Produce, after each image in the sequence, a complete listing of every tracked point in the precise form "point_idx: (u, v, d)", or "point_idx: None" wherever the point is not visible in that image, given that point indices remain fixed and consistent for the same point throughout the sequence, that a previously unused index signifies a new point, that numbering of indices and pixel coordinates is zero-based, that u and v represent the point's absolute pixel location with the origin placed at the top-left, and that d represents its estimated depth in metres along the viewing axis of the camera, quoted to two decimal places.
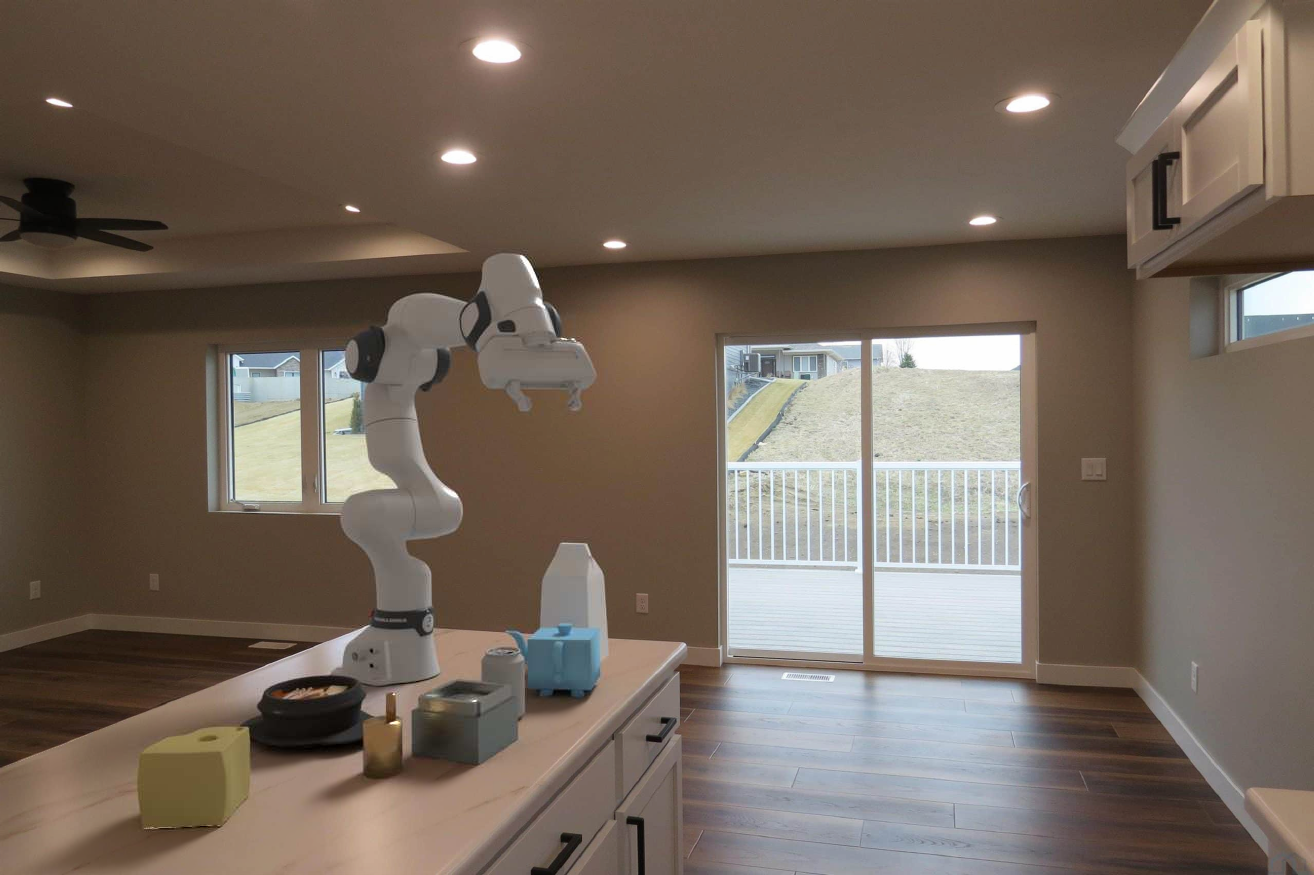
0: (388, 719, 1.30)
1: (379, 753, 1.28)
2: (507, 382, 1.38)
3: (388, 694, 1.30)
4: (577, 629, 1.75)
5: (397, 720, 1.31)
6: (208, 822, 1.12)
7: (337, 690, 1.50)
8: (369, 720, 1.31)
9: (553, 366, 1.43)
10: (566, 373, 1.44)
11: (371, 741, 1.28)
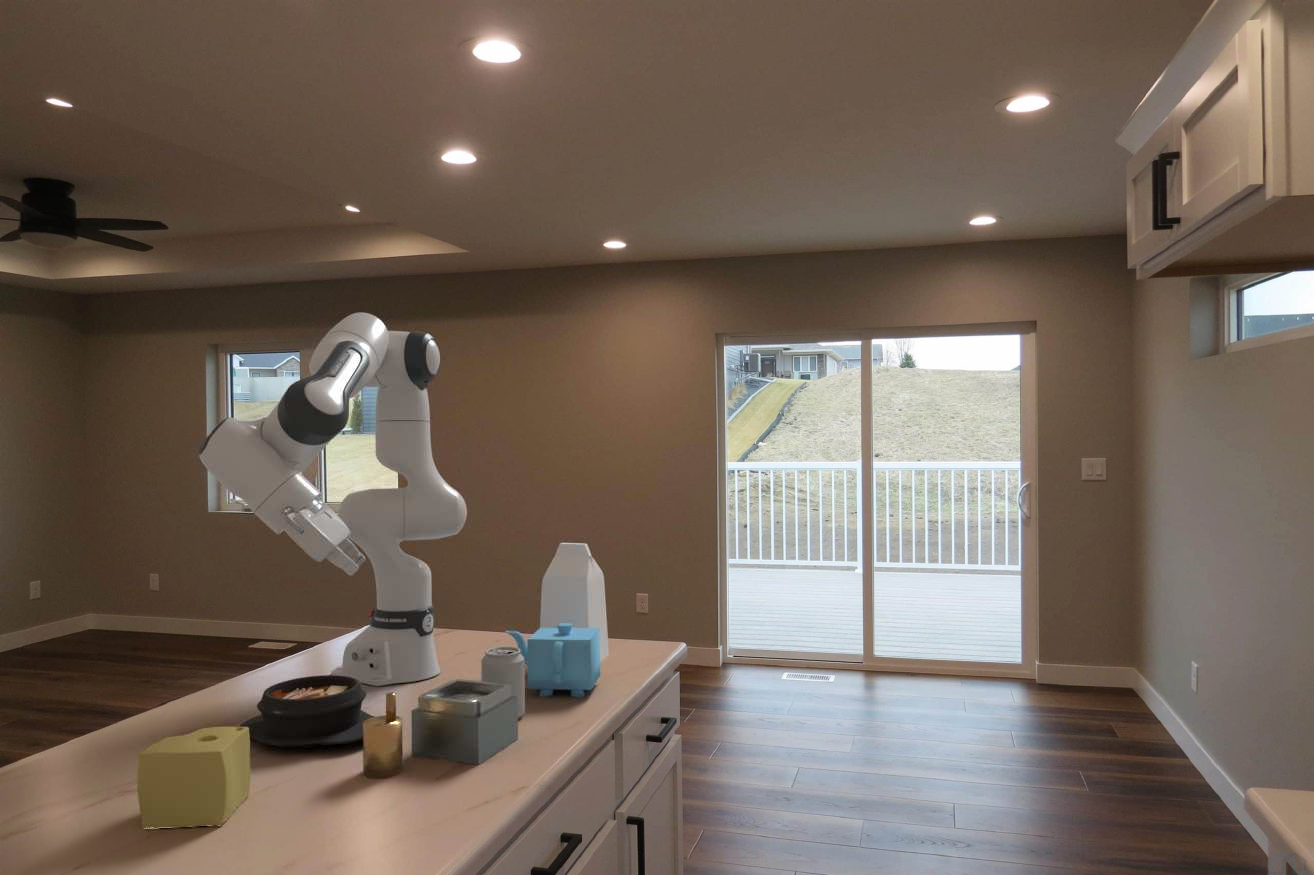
0: (388, 719, 1.30)
1: (379, 753, 1.28)
2: None
3: (388, 694, 1.30)
4: (577, 629, 1.75)
5: (397, 720, 1.31)
6: (208, 822, 1.12)
7: (337, 690, 1.50)
8: (369, 720, 1.31)
9: None
10: None
11: (371, 740, 1.28)
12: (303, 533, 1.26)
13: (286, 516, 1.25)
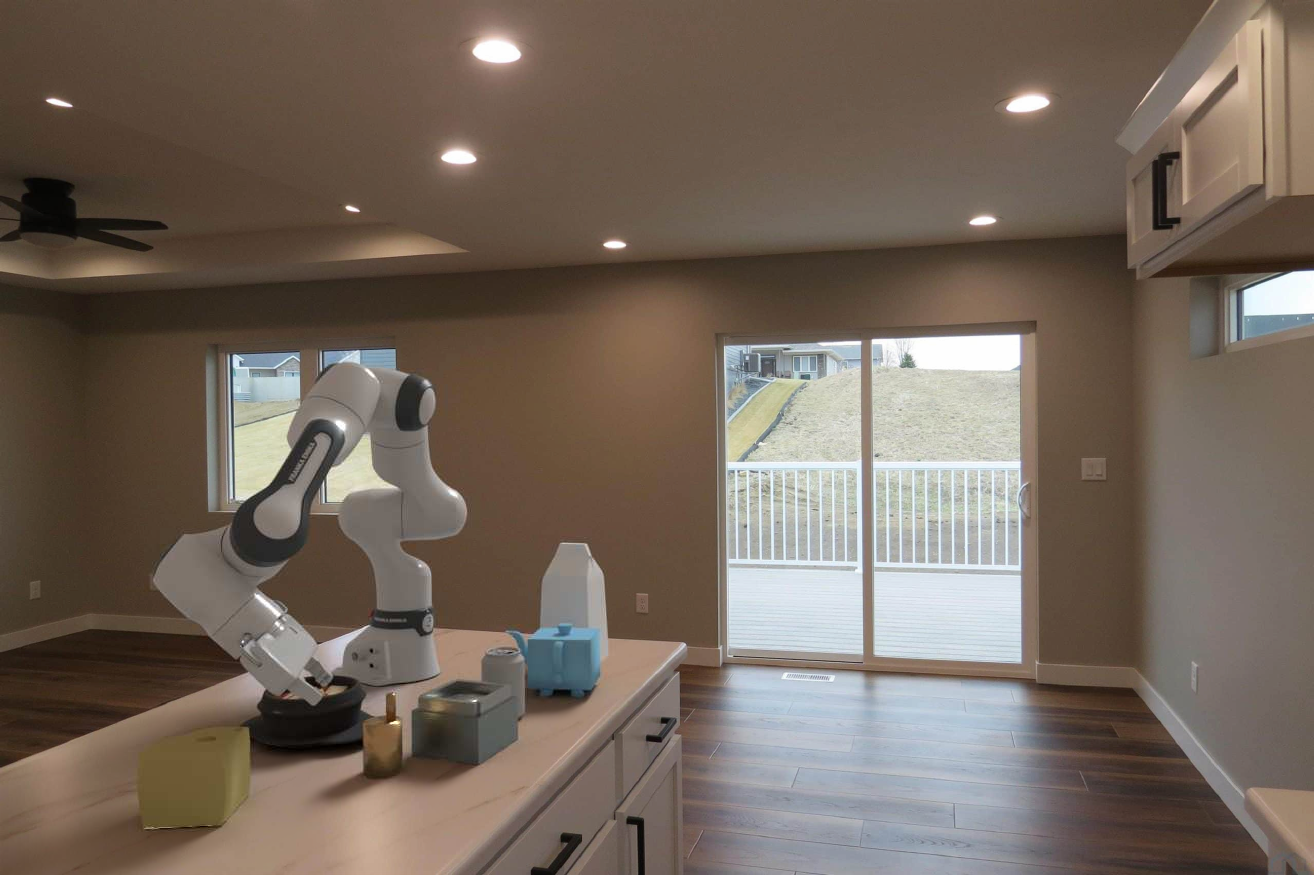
0: (388, 719, 1.30)
1: (379, 753, 1.28)
2: None
3: (388, 694, 1.30)
4: (577, 629, 1.75)
5: (397, 720, 1.31)
6: (208, 822, 1.12)
7: (337, 690, 1.50)
8: (369, 720, 1.31)
9: None
10: None
11: (371, 740, 1.28)
12: (261, 666, 1.18)
13: (242, 649, 1.17)
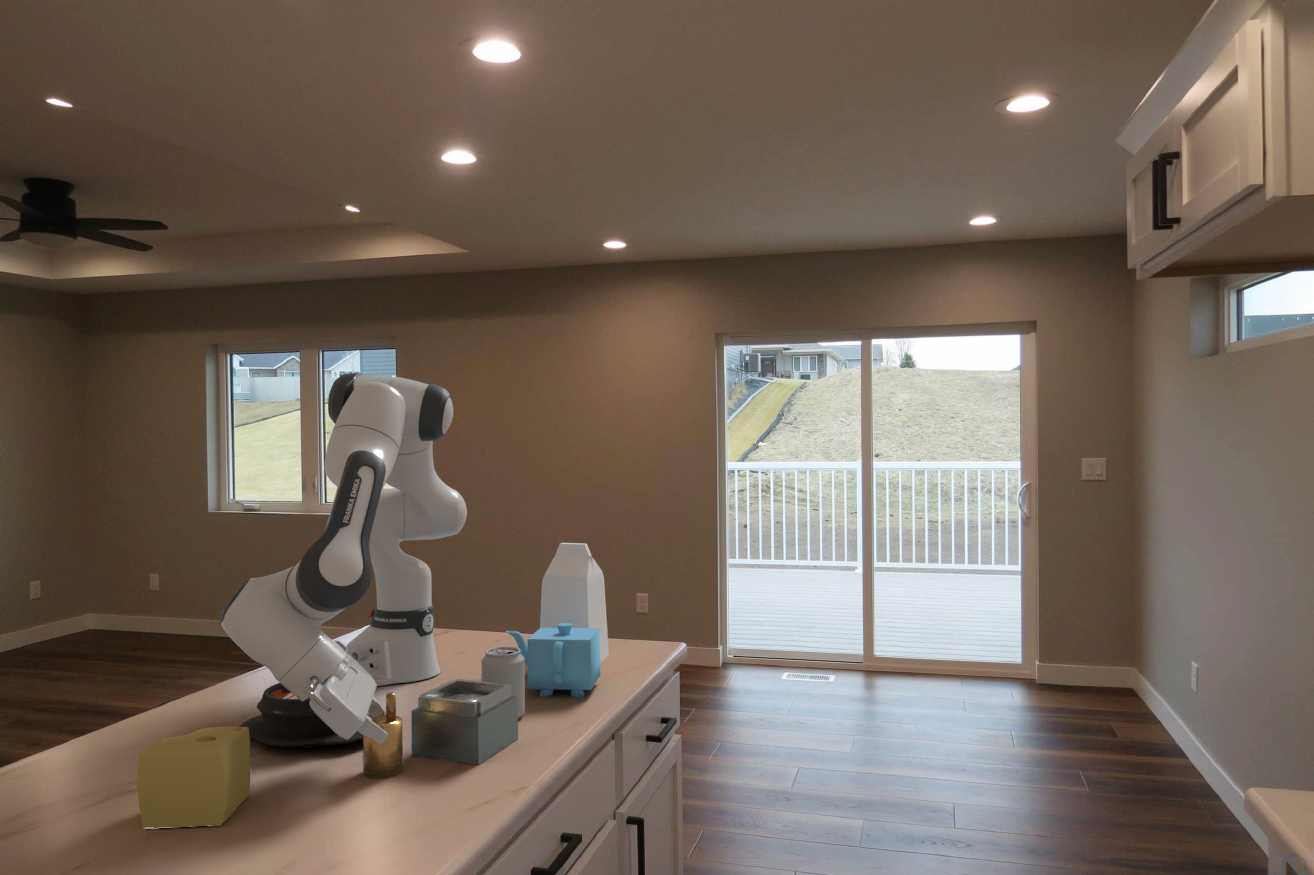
0: (388, 718, 1.30)
1: (379, 753, 1.28)
2: None
3: (388, 694, 1.30)
4: (577, 629, 1.75)
5: (397, 720, 1.31)
6: (208, 822, 1.12)
7: None
8: None
9: None
10: None
11: (371, 740, 1.28)
12: (330, 711, 1.20)
13: (313, 694, 1.19)
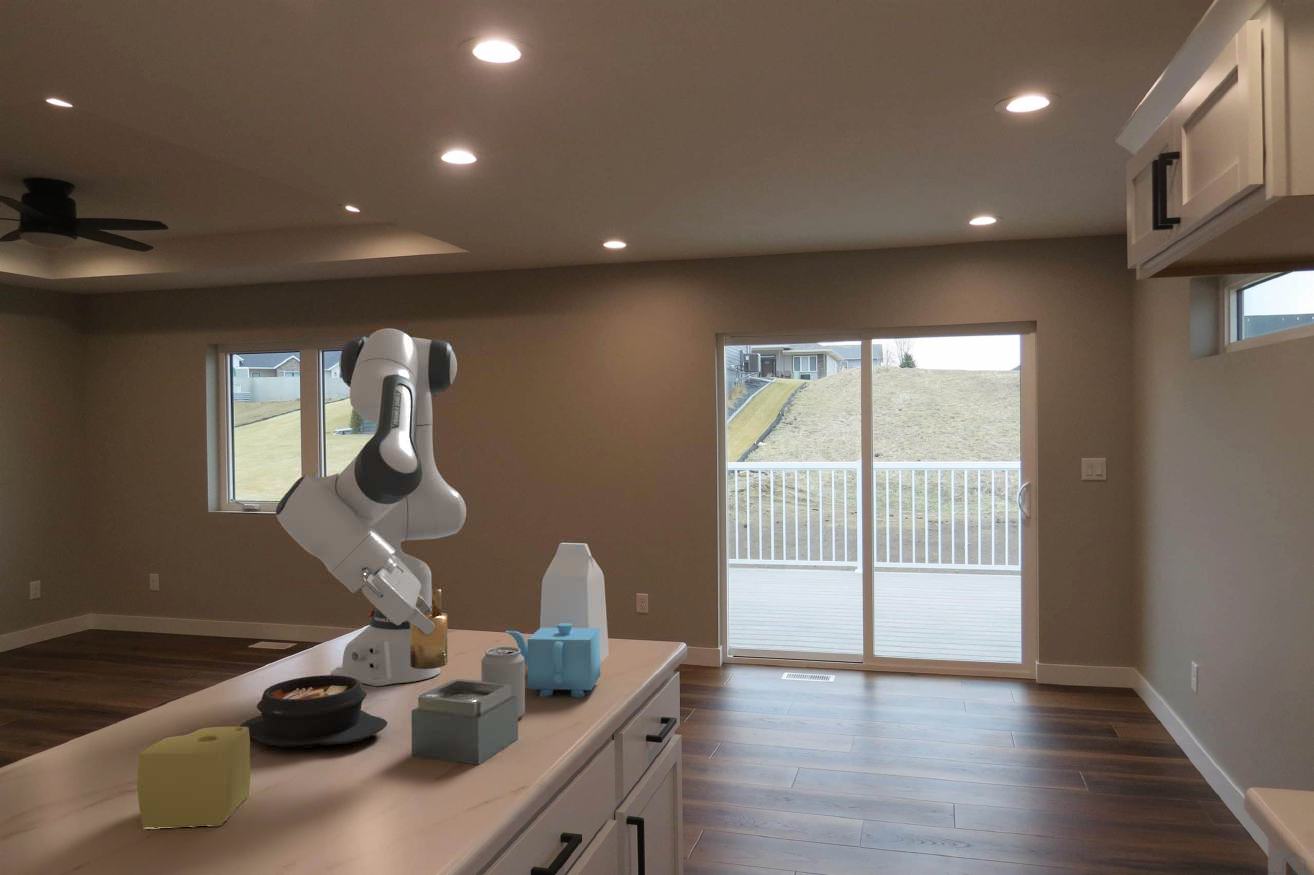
0: (434, 613, 1.36)
1: (426, 644, 1.34)
2: None
3: (434, 590, 1.36)
4: (577, 629, 1.75)
5: (442, 615, 1.37)
6: (208, 822, 1.12)
7: (337, 690, 1.50)
8: None
9: None
10: None
11: (419, 632, 1.34)
12: (383, 597, 1.26)
13: (366, 580, 1.25)
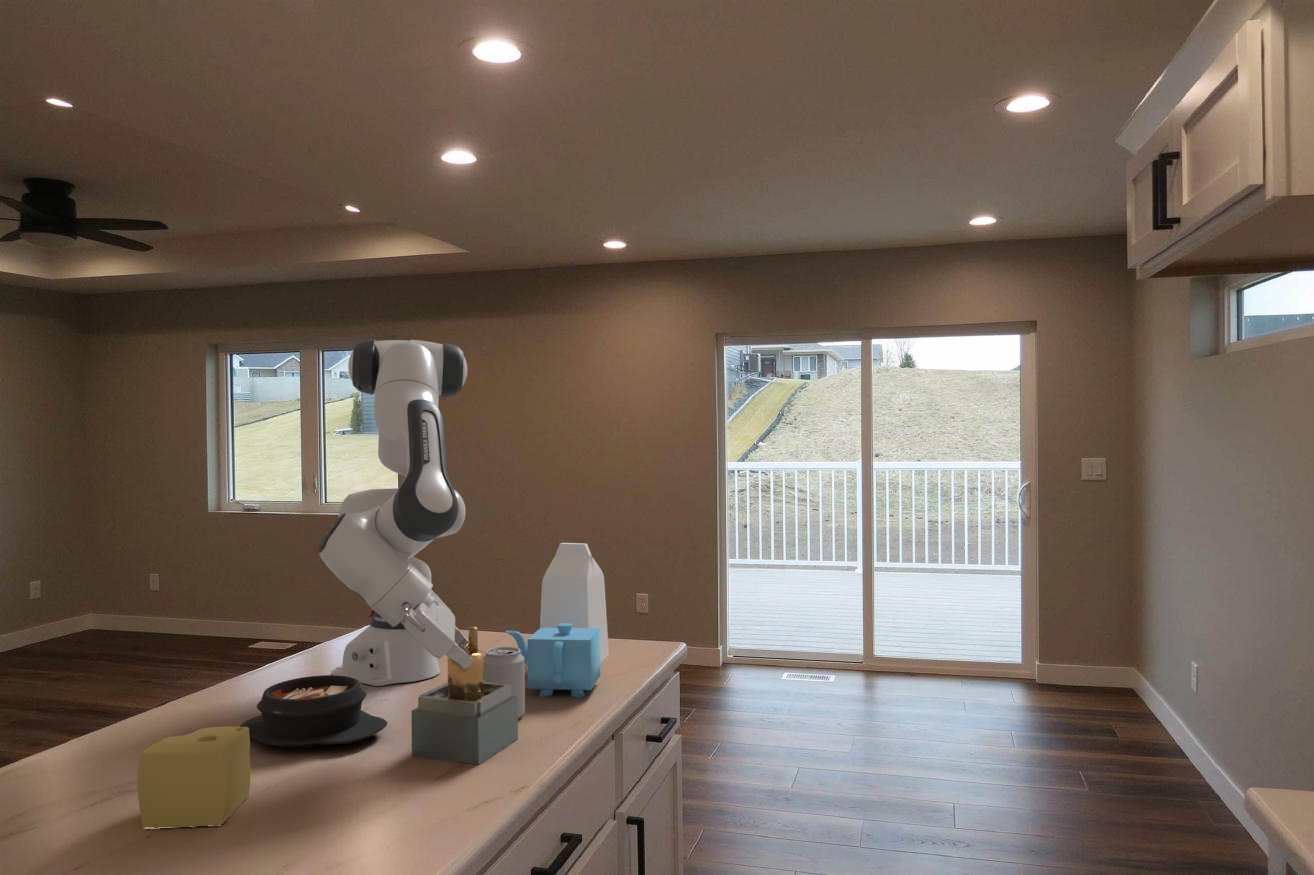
0: (470, 650, 1.40)
1: (464, 681, 1.38)
2: None
3: (471, 627, 1.40)
4: (577, 629, 1.75)
5: (479, 652, 1.41)
6: (208, 822, 1.12)
7: (337, 690, 1.50)
8: None
9: None
10: None
11: (457, 669, 1.38)
12: (424, 632, 1.30)
13: (408, 616, 1.29)
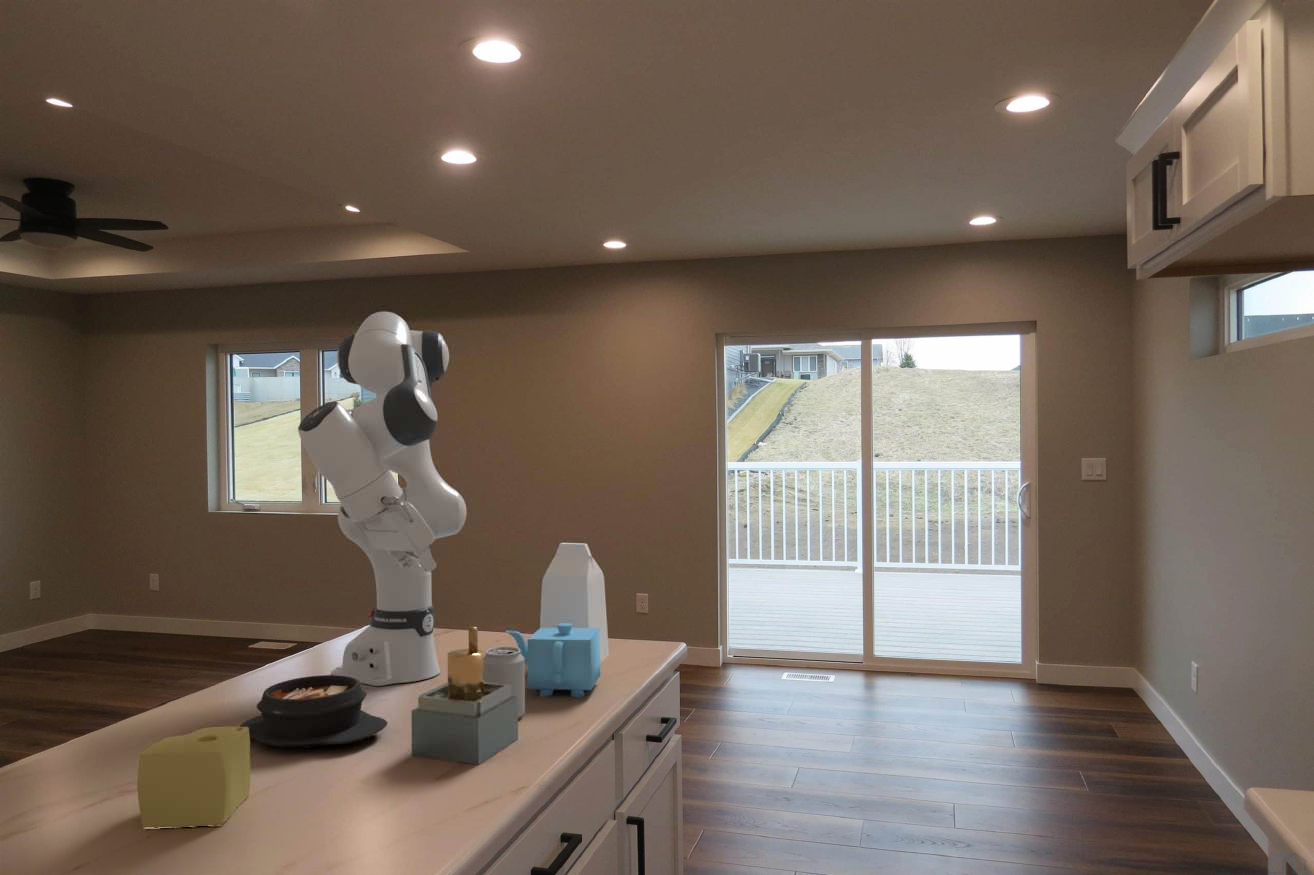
0: (470, 650, 1.40)
1: (464, 681, 1.38)
2: None
3: (470, 627, 1.40)
4: (577, 629, 1.75)
5: (479, 652, 1.41)
6: (208, 822, 1.12)
7: (337, 690, 1.50)
8: (452, 652, 1.41)
9: (391, 540, 1.39)
10: (400, 546, 1.38)
11: (457, 669, 1.38)
12: (412, 522, 1.33)
13: (402, 503, 1.32)
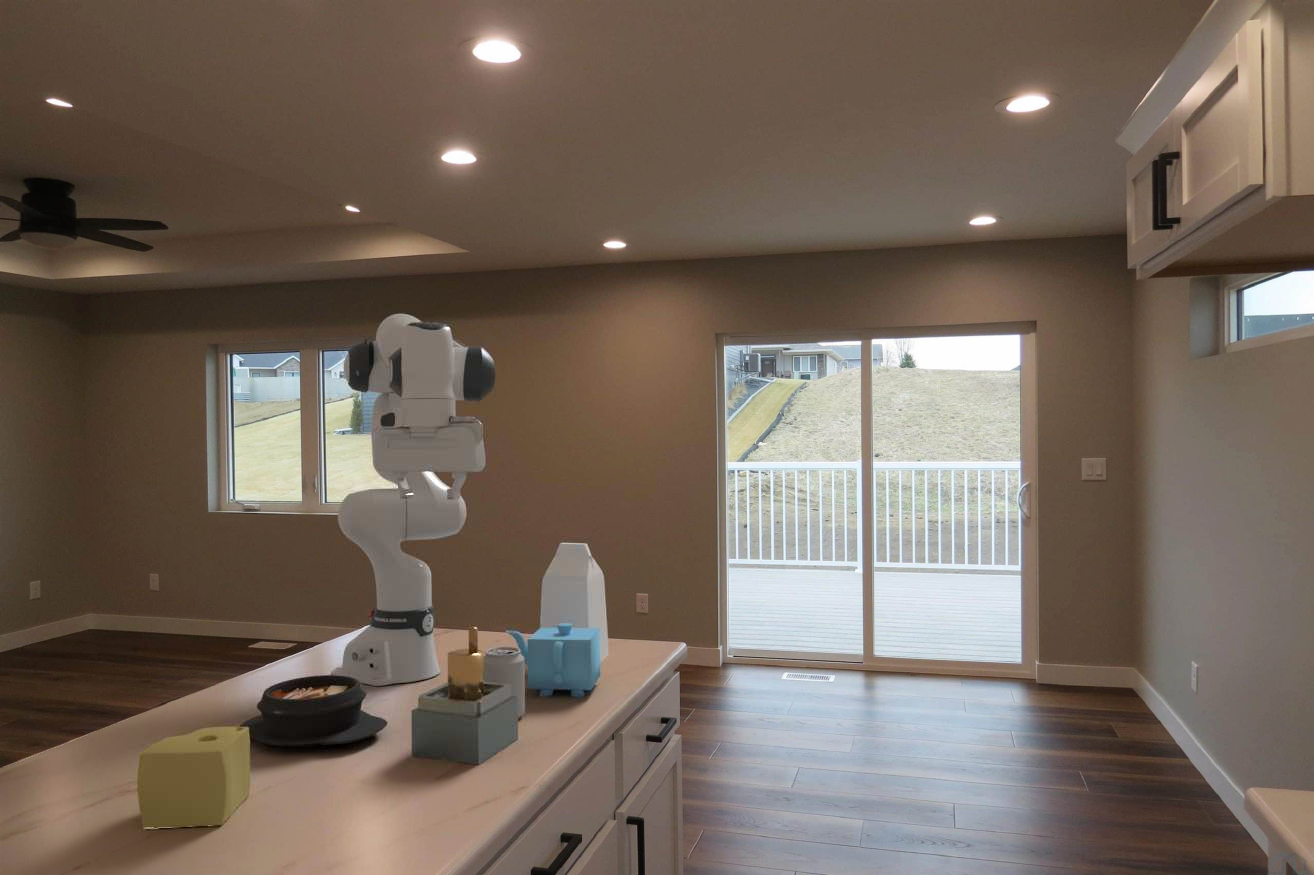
0: (470, 650, 1.40)
1: (464, 681, 1.38)
2: None
3: (471, 628, 1.40)
4: (577, 629, 1.75)
5: (479, 652, 1.41)
6: (208, 822, 1.12)
7: (337, 690, 1.50)
8: (453, 652, 1.41)
9: (430, 458, 1.46)
10: (441, 465, 1.46)
11: (457, 669, 1.38)
12: (478, 444, 1.45)
13: None
